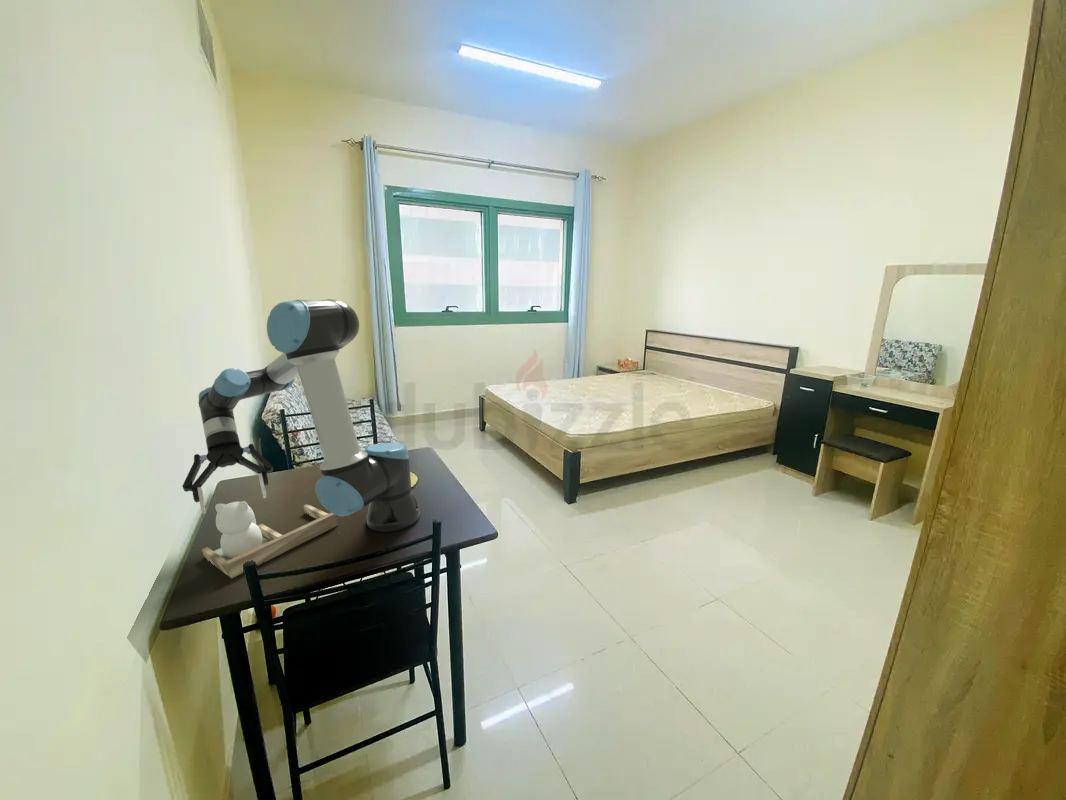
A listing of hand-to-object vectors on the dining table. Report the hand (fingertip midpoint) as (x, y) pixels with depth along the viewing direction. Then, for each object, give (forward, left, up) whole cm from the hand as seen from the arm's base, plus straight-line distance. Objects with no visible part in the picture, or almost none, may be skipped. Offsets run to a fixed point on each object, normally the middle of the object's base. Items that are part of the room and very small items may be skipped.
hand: (235, 503), depth 113 cm
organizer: (-7, -5, -11) cm, 14 cm away
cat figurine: (-6, +2, -11) cm, 13 cm away
